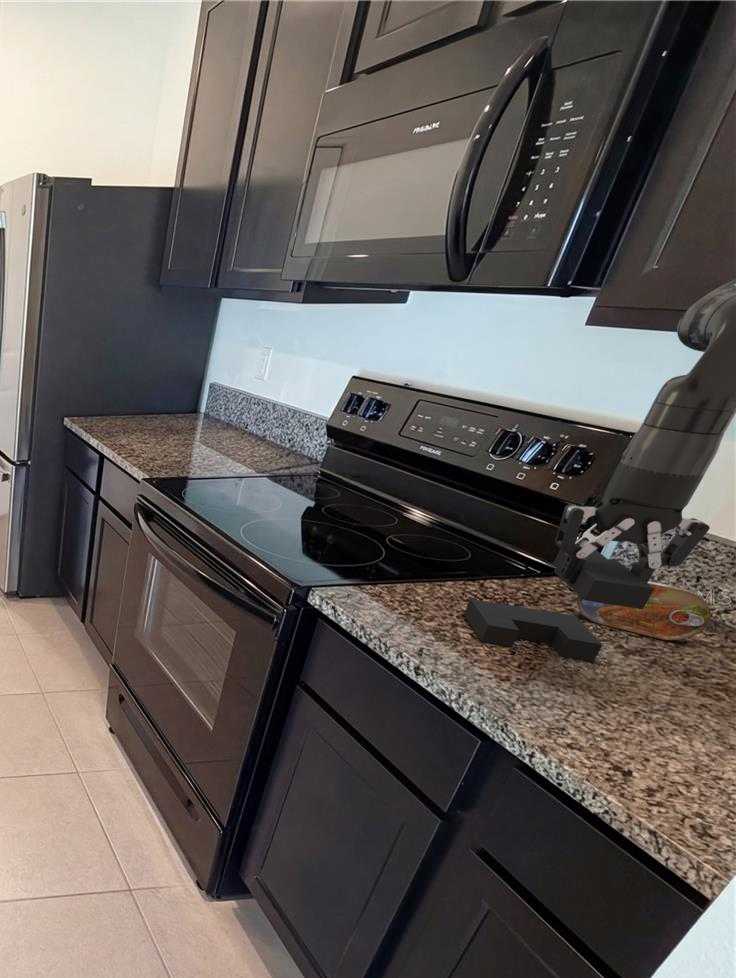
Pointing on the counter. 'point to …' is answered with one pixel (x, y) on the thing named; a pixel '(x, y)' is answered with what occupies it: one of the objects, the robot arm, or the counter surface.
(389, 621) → the counter surface
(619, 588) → the pad
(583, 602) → the tin
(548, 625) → the notch pad
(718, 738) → the counter surface
